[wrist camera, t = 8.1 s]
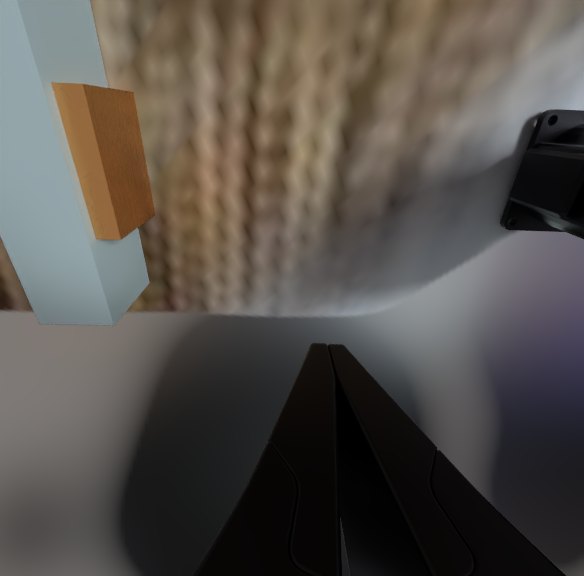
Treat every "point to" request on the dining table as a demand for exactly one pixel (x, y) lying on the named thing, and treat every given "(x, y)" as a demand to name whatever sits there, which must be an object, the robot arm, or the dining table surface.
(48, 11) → the block
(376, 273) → the dining table surface
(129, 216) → the pin
